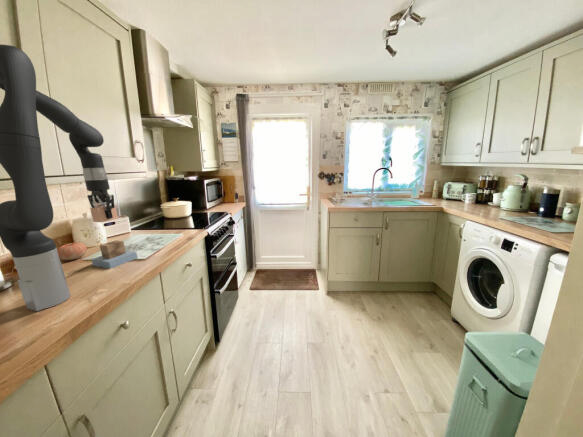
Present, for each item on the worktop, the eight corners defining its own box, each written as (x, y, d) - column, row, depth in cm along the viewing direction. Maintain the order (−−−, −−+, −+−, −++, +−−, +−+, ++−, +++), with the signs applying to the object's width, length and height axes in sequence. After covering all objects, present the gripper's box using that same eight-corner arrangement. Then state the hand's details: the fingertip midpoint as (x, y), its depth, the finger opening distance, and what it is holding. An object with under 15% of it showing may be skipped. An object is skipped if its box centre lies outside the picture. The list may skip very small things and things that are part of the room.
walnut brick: (109, 259, 101) (106, 246, 100) (102, 257, 103) (99, 245, 101) (126, 253, 107) (123, 241, 106) (118, 252, 109) (116, 240, 108)
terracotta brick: (100, 222, 97) (97, 208, 96) (93, 221, 99) (90, 208, 98) (118, 218, 103) (115, 205, 102) (110, 218, 105) (107, 205, 104)
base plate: (110, 268, 98) (109, 262, 97) (92, 265, 102) (91, 259, 102) (137, 257, 109) (136, 251, 108) (120, 255, 113) (119, 249, 113)
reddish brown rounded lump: (52, 262, 109) (48, 246, 107) (79, 253, 119) (75, 239, 117) (68, 264, 105) (63, 247, 104) (93, 255, 116) (90, 240, 114)
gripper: (75, 180, 96) (85, 219, 100) (97, 179, 91) (107, 220, 95) (95, 178, 103) (104, 215, 107) (116, 178, 98) (125, 216, 102)
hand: (105, 217), depth 101 cm, fingers closed on terracotta brick, 5 cm apart
